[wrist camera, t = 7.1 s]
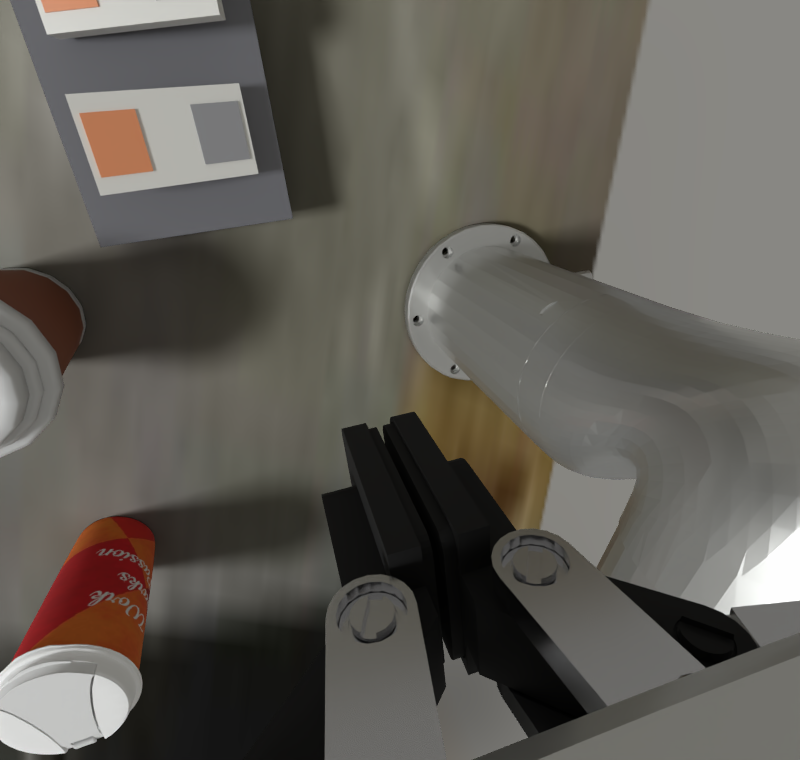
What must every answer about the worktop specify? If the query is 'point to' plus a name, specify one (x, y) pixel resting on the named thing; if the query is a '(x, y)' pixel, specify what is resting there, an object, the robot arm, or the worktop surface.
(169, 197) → the rocker switch panel
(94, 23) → the rocker middle
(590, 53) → the worktop surface
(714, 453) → the robot arm
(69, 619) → the paper cup
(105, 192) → the plate
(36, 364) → the coffee cup
